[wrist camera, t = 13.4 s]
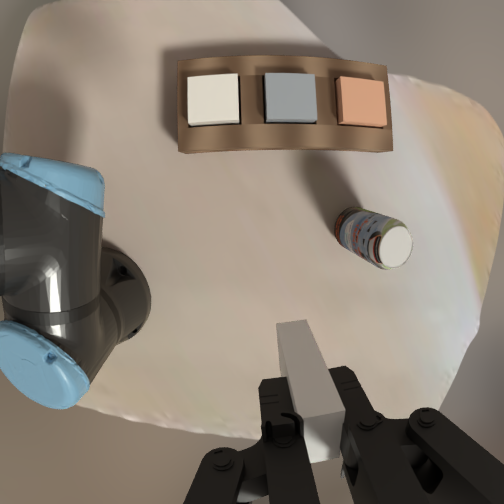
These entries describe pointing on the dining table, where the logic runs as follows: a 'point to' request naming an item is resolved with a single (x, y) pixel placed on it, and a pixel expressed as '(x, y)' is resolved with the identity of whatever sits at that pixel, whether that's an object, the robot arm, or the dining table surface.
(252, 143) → the console
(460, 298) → the dining table surface
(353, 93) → the terracotta key
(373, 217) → the beverage can
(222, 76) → the offwhite key
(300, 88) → the slate key
